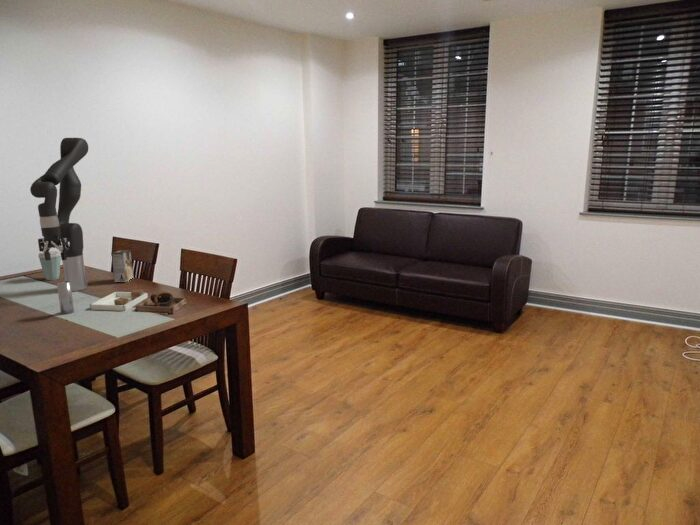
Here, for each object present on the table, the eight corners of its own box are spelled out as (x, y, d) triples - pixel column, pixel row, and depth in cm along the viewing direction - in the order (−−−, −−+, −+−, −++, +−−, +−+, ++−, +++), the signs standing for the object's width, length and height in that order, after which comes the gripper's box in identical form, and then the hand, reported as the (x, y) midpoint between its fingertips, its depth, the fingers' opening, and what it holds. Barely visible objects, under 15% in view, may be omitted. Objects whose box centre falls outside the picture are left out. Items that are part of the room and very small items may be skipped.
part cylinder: (66, 312, 219) (62, 280, 215) (76, 312, 218) (73, 281, 215) (58, 315, 214) (54, 283, 211) (69, 316, 213) (65, 284, 210)
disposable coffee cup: (47, 276, 278) (43, 249, 274) (67, 276, 279) (64, 249, 275) (37, 281, 267) (33, 253, 264) (59, 281, 268) (55, 253, 265)
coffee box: (122, 278, 274) (119, 249, 271) (133, 278, 274) (131, 249, 271) (114, 283, 265) (111, 253, 262) (126, 283, 265) (123, 253, 262)
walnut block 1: (122, 306, 224) (121, 297, 223) (129, 307, 223) (128, 298, 222) (115, 308, 221) (114, 300, 220) (122, 309, 219) (121, 301, 218)
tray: (115, 297, 239) (115, 291, 239) (148, 299, 238) (147, 292, 237) (90, 311, 220) (89, 304, 219) (125, 312, 218) (124, 305, 218)
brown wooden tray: (152, 302, 233) (152, 296, 232) (187, 303, 231) (187, 297, 230) (136, 312, 218) (135, 306, 218) (173, 314, 217) (172, 307, 216)
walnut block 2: (134, 298, 236) (133, 289, 235) (143, 298, 236) (142, 289, 236) (131, 300, 232) (130, 292, 231) (140, 300, 233) (139, 292, 232)
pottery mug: (180, 306, 229) (178, 293, 224) (168, 320, 222) (166, 308, 217) (156, 297, 231) (154, 285, 225) (144, 312, 224) (141, 299, 218)
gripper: (69, 224, 235) (75, 258, 238) (43, 224, 238) (49, 258, 241) (57, 226, 228) (63, 262, 231) (30, 227, 231) (36, 262, 234)
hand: (56, 260), depth 236 cm, fingers open, 8 cm apart
